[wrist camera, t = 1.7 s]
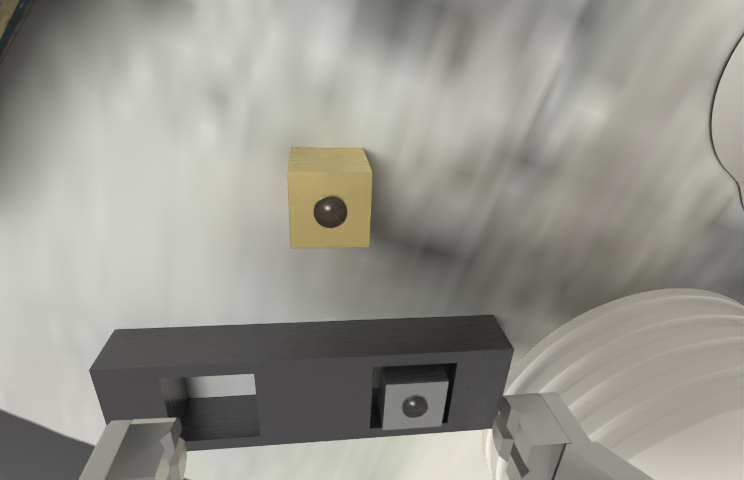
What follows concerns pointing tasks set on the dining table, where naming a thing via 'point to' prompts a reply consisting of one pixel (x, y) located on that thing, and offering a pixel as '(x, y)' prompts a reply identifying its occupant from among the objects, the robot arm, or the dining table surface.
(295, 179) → the wooden cube with knob
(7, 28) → the metal box
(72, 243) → the dining table surface
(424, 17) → the dining table surface
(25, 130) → the dining table surface
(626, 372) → the plate stack
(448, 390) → the rail
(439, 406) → the grey knobbed square block
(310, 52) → the dining table surface
